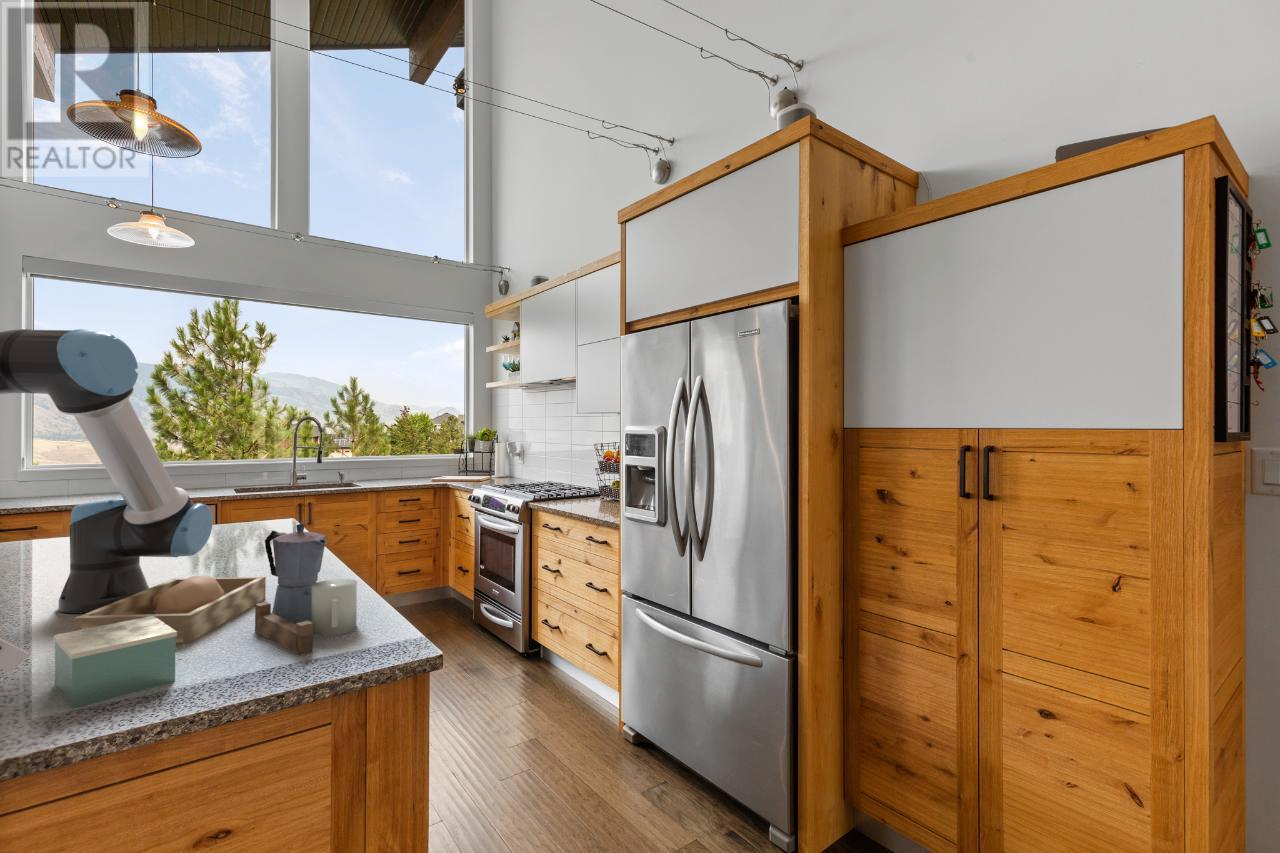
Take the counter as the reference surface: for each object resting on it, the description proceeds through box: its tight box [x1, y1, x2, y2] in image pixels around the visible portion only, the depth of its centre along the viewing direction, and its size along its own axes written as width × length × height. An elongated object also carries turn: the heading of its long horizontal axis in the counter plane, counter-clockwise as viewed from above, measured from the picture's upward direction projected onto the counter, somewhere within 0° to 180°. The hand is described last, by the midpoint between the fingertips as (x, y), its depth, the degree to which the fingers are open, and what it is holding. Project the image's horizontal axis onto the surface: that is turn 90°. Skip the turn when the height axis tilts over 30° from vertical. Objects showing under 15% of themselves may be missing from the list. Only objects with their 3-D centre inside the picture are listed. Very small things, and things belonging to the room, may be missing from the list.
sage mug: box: [311, 578, 358, 637], centre depth 119 cm, size 10×8×9 cm
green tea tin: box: [53, 616, 177, 710], centre depth 95 cm, size 12×12×8 cm
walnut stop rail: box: [254, 601, 314, 656], centre depth 113 cm, size 20×2×5 cm, turn 52°
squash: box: [151, 574, 224, 614], centre depth 125 cm, size 11×20×9 cm, turn 59°
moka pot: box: [264, 523, 328, 624], centre depth 125 cm, size 10×15×20 cm, turn 78°
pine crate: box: [73, 576, 267, 644], centre depth 125 cm, size 28×19×5 cm
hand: (18, 662), depth 86 cm, fingers closed
